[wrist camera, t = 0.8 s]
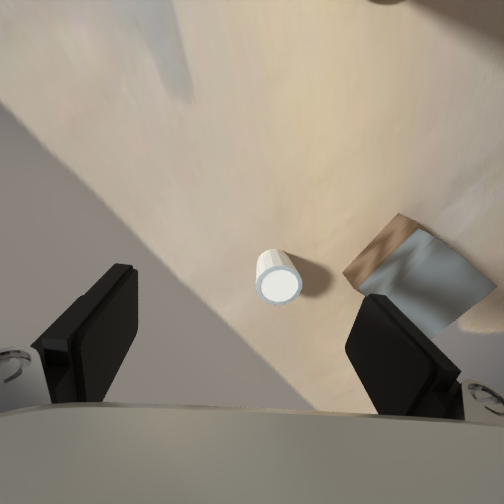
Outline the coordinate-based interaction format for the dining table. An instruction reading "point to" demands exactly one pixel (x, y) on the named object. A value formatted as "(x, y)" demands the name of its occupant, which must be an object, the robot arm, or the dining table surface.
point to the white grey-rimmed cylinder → (277, 278)
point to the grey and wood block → (418, 275)
